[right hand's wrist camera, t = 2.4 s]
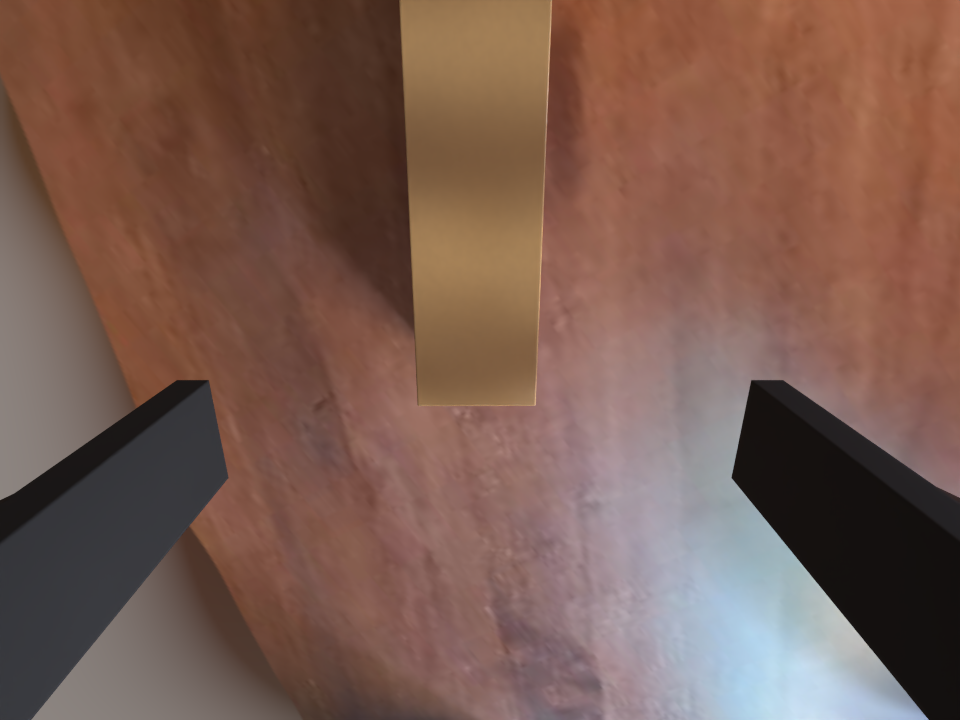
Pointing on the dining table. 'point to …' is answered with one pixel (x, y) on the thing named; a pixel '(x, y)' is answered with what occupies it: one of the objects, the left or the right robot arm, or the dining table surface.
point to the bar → (476, 194)
